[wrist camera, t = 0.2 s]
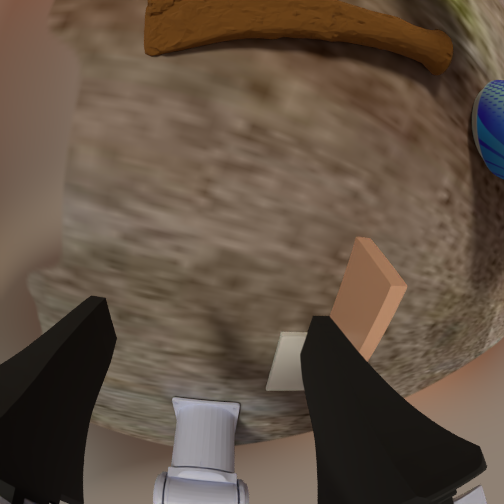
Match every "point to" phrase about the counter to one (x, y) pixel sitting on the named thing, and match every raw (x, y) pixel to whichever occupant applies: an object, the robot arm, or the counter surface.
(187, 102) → the counter surface
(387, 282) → the tile
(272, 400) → the counter surface
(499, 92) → the beer can
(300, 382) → the mat
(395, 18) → the primitive tool
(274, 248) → the counter surface
